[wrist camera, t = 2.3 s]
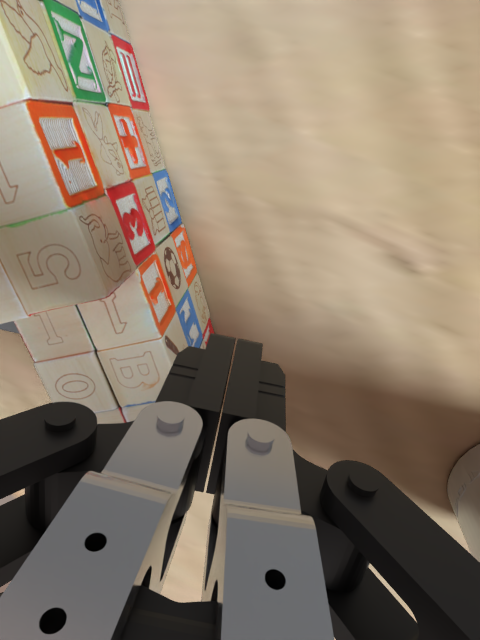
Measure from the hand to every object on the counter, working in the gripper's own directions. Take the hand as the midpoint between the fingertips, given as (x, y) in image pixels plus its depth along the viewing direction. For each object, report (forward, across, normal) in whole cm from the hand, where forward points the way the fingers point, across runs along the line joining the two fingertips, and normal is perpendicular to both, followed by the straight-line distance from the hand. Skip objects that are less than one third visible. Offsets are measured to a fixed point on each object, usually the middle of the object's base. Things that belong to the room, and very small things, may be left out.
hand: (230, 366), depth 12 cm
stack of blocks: (+14, +8, 0) cm, 16 cm away
